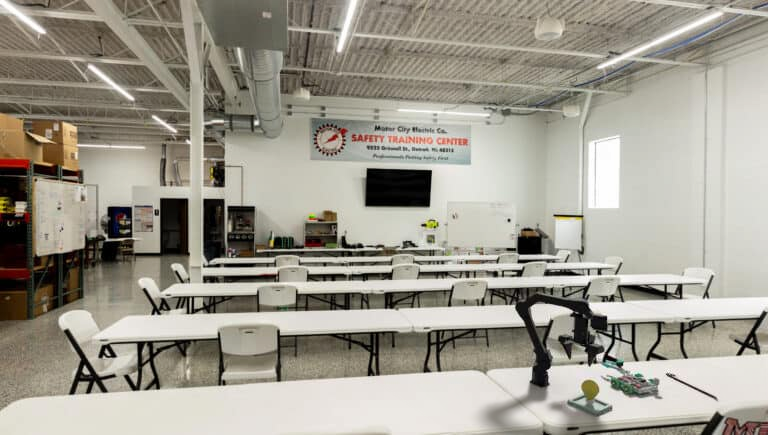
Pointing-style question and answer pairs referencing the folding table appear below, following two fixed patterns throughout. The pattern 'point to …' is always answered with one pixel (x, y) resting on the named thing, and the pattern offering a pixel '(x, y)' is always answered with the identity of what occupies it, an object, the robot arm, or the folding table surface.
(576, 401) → the tray
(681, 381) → the crowbar
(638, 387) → the robot kit
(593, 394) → the light bulb
